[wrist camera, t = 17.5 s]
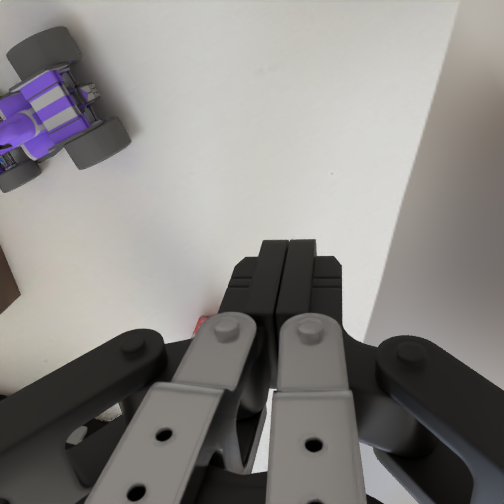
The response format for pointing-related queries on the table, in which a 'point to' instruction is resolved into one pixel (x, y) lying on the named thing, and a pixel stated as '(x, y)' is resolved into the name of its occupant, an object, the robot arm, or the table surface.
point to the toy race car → (51, 111)
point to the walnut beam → (6, 284)
